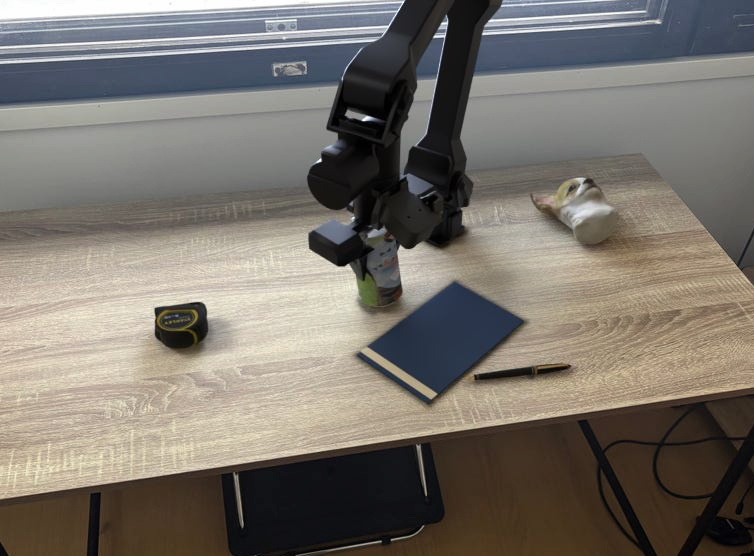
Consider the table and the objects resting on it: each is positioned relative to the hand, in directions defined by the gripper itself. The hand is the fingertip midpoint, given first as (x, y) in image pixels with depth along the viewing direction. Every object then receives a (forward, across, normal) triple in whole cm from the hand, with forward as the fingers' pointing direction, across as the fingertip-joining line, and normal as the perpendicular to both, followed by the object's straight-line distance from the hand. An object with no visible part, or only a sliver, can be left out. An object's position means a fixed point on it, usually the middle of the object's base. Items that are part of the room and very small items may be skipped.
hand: (375, 270), depth 98 cm
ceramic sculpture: (+5, +34, -11) cm, 36 cm away
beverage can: (+5, 0, 0) cm, 5 cm away
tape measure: (+5, -23, +14) cm, 27 cm away
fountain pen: (+5, +1, -23) cm, 24 cm away
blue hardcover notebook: (+5, 0, -12) cm, 13 cm away
